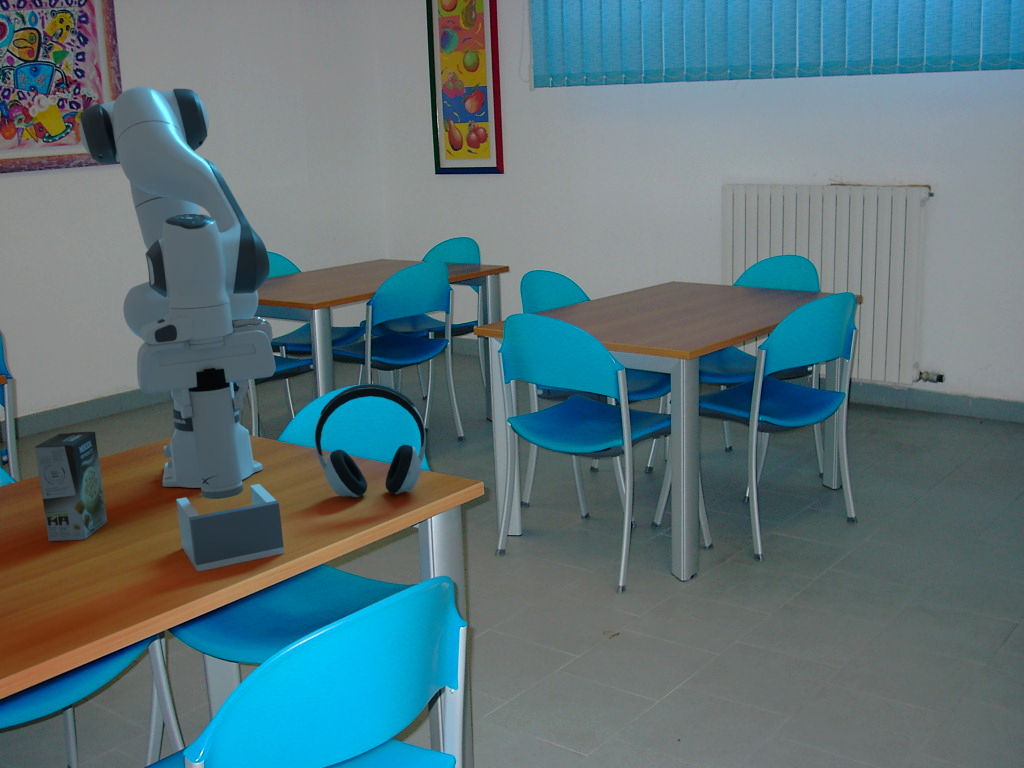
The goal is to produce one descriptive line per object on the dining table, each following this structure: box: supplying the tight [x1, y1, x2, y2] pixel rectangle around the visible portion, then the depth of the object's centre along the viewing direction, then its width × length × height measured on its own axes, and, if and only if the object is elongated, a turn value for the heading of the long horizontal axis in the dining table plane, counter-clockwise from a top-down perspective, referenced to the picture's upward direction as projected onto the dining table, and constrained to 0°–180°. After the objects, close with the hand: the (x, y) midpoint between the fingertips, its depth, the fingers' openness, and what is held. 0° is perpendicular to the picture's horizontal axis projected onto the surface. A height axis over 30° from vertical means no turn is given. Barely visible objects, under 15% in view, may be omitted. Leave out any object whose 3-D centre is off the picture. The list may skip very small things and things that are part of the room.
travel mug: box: [188, 368, 244, 500], centre depth 166 cm, size 6×7×20 cm
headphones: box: [314, 383, 427, 498], centre depth 189 cm, size 19×8×20 cm, turn 95°
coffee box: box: [34, 431, 108, 542], centre depth 179 cm, size 9×6×16 cm
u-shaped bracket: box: [176, 483, 285, 573], centre depth 167 cm, size 12×13×8 cm
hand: (212, 413), depth 166 cm, fingers closed on travel mug, 6 cm apart
